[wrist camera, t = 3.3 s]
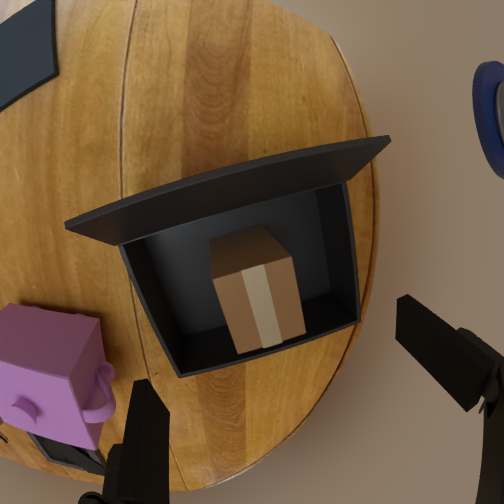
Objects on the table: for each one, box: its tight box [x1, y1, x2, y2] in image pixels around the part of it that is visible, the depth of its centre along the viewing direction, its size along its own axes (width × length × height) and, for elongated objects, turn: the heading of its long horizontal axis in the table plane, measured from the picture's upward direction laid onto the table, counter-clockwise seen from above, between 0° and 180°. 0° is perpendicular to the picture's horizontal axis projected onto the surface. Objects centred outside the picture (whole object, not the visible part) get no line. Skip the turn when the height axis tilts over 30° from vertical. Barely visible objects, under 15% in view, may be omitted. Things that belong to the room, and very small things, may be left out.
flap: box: [64, 135, 391, 246], centre depth 15 cm, size 17×6×1 cm
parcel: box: [208, 224, 306, 354], centre depth 22 cm, size 5×6×9 cm
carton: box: [118, 181, 361, 378], centre depth 24 cm, size 17×13×6 cm
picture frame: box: [26, 431, 107, 476], centre depth 30 cm, size 13×2×18 cm
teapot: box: [0, 303, 116, 450], centre depth 20 cm, size 20×10×12 cm, turn 82°
